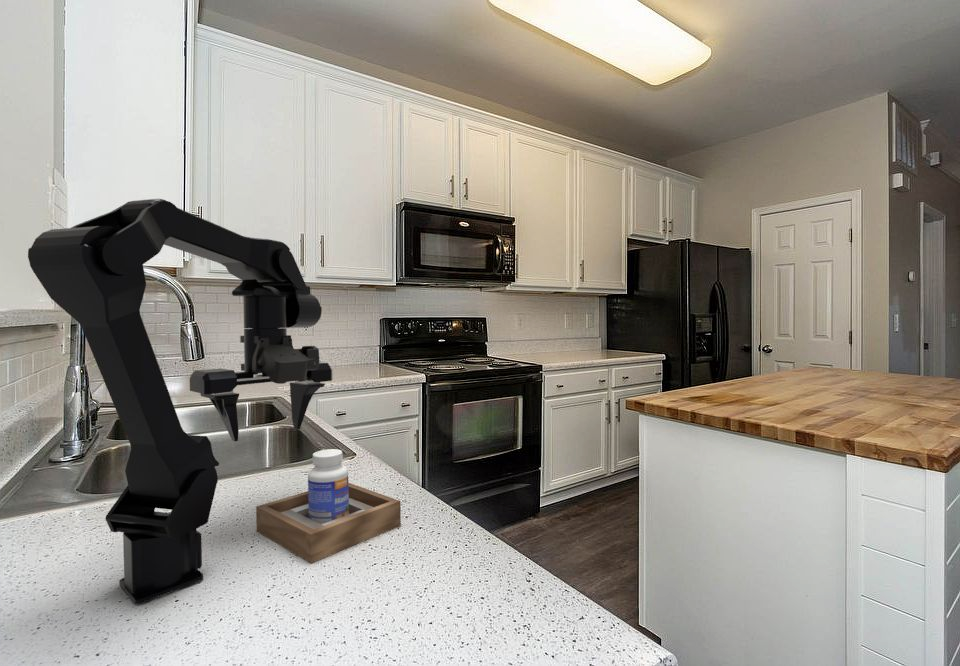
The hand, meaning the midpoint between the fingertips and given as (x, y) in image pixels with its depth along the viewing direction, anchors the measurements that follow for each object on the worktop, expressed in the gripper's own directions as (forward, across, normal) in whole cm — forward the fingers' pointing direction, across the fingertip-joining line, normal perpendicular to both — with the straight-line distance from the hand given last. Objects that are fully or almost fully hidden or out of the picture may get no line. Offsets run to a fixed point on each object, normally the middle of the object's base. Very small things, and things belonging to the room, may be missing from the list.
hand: (267, 434), depth 71 cm
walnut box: (+12, +4, -10) cm, 16 cm away
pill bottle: (+12, +4, -10) cm, 16 cm away
